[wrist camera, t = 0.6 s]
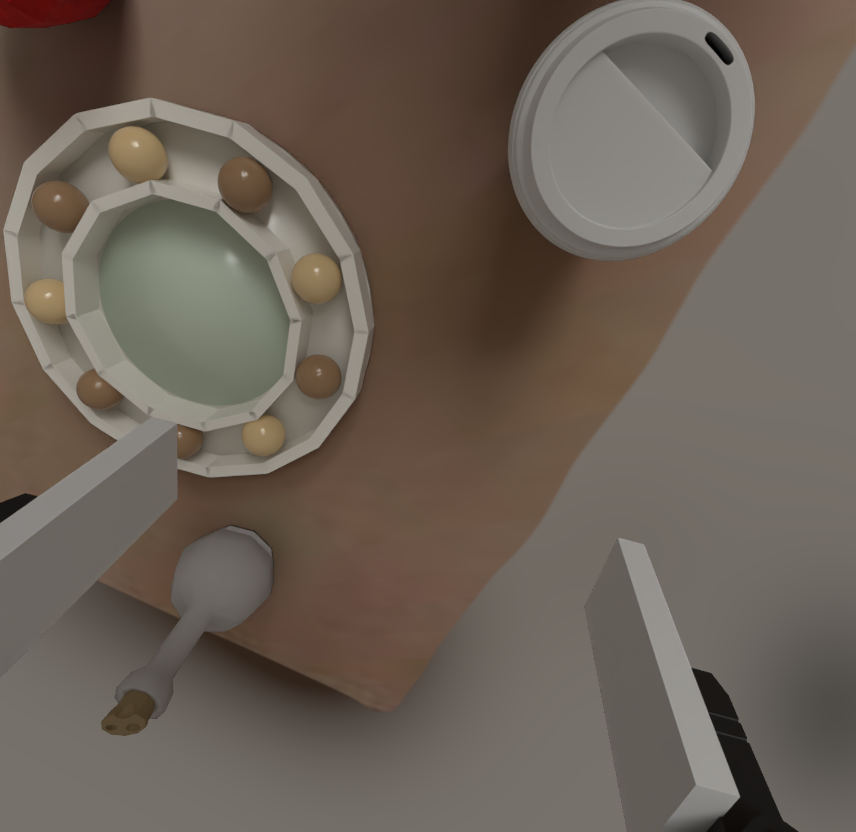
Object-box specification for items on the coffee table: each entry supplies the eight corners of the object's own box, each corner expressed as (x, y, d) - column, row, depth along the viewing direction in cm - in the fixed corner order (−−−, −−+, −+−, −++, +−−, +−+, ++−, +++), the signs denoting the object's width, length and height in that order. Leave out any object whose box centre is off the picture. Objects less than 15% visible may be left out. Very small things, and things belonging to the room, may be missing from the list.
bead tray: (23, 60, 35) (-39, 45, 31) (410, 168, 35) (398, 167, 31) (53, 410, 46) (11, 432, 43) (341, 492, 46) (326, 522, 42)
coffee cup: (680, 188, 33) (805, 196, 20) (539, 258, 36) (563, 307, 22) (630, 28, 30) (737, -93, 16) (480, 118, 33) (467, 77, 19)
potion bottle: (198, 508, 49) (49, 671, 33) (288, 531, 49) (183, 707, 33) (196, 576, 53) (63, 752, 37) (280, 598, 53) (182, 785, 37)
